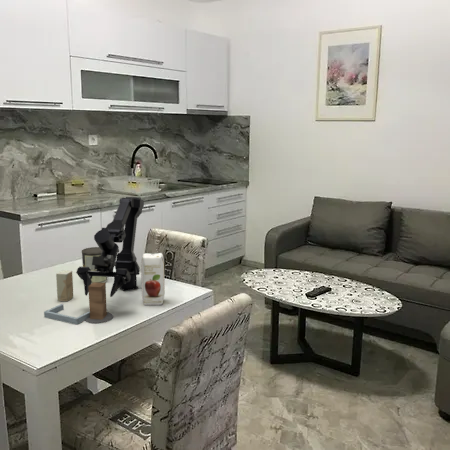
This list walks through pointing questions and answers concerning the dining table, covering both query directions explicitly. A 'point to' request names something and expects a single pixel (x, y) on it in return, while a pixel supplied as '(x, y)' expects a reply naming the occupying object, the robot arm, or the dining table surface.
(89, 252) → the coffee can
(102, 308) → the walnut block
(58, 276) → the box
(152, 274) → the juice carton
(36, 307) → the dining table surface
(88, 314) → the grey u-frame
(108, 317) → the coaster
